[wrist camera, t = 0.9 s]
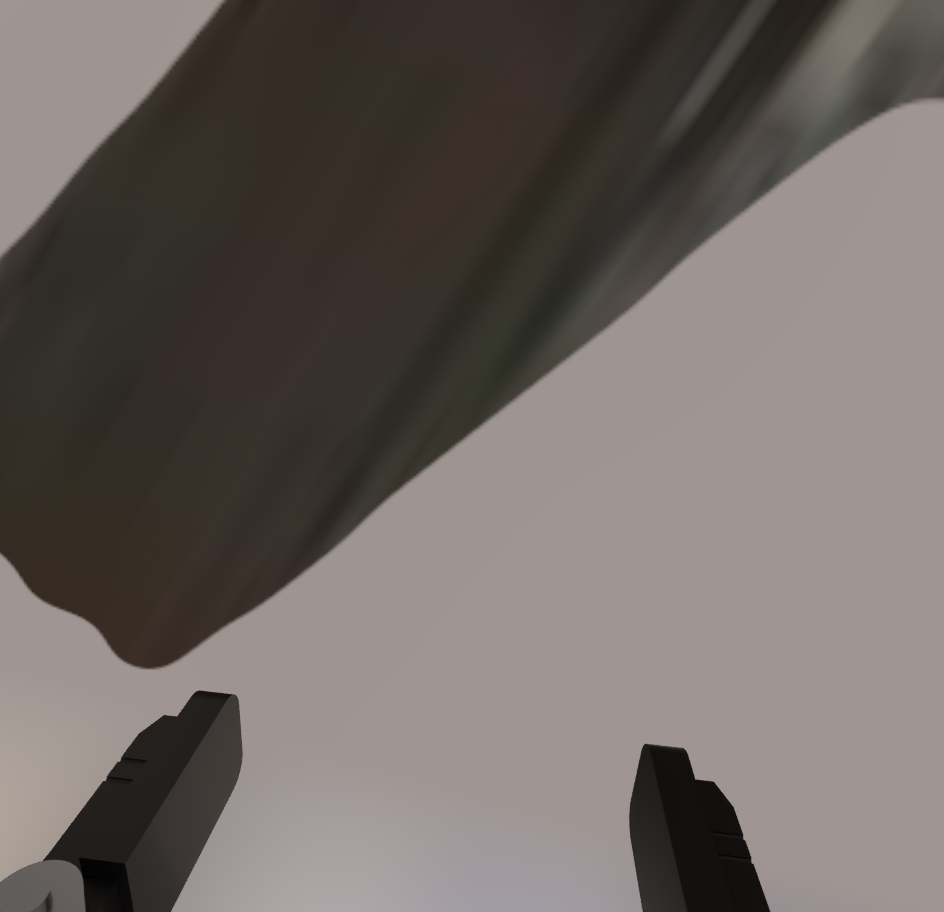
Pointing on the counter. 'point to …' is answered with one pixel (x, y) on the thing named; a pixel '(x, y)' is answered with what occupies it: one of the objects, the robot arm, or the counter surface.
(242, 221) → the counter surface
